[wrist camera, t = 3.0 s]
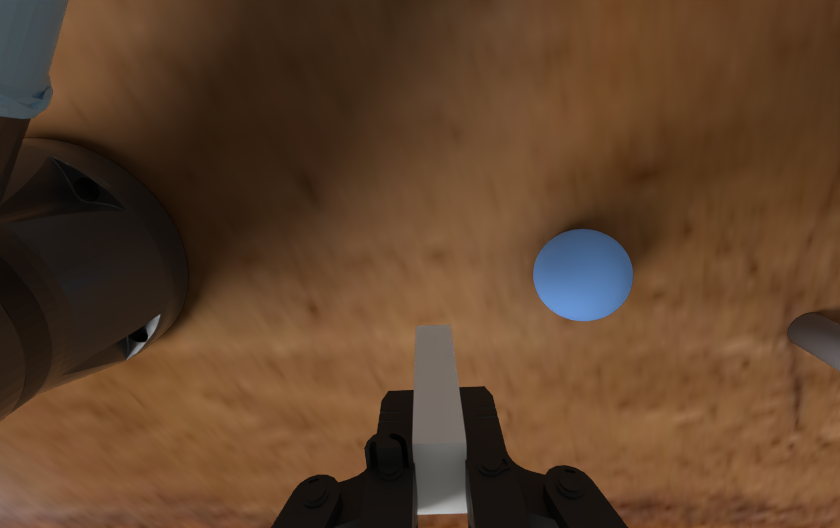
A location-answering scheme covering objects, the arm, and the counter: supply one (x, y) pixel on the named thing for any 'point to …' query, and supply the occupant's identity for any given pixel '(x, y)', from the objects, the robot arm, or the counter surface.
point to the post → (817, 337)
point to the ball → (583, 275)
